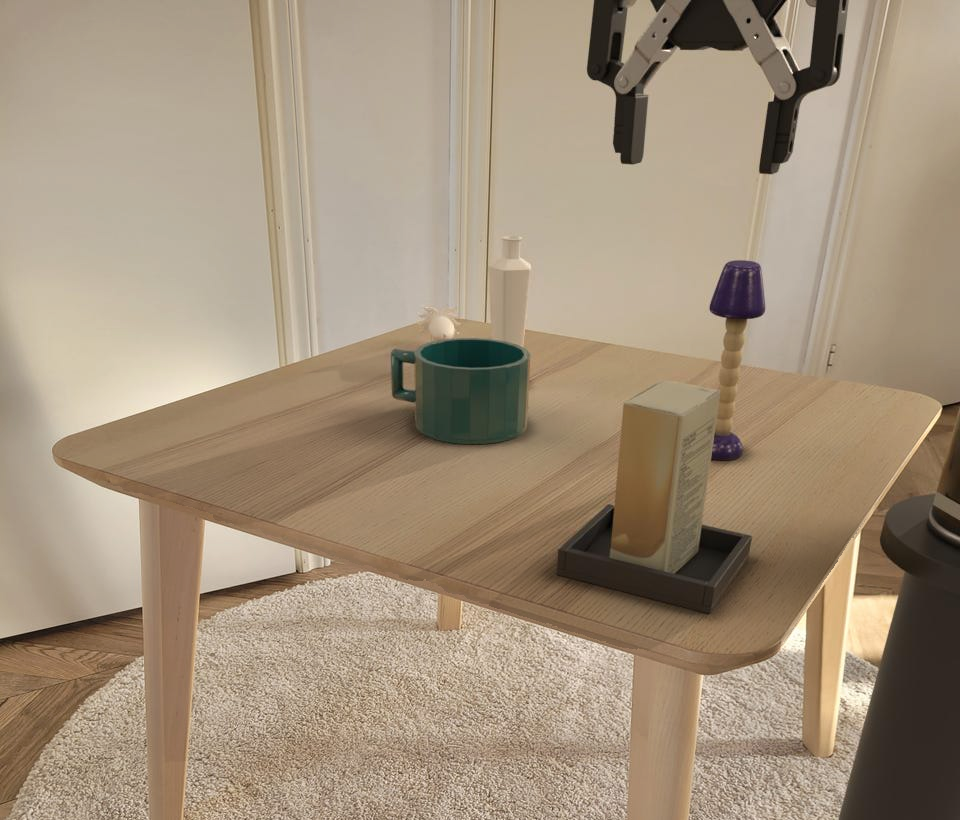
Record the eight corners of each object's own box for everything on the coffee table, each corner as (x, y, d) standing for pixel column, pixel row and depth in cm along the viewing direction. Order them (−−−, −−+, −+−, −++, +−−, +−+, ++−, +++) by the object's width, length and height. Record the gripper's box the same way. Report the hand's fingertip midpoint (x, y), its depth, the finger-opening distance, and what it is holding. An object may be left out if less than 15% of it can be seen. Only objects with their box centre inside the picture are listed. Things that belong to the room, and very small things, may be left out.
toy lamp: (738, 465, 89) (769, 270, 81) (686, 458, 91) (711, 265, 82) (745, 447, 93) (775, 259, 84) (695, 441, 94) (720, 255, 86)
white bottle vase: (537, 385, 108) (544, 239, 101) (504, 392, 106) (509, 242, 99) (512, 375, 112) (518, 232, 104) (480, 381, 110) (483, 235, 102)
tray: (748, 560, 73) (752, 535, 72) (710, 614, 66) (714, 587, 65) (605, 527, 77) (607, 503, 76) (556, 574, 70) (557, 549, 69)
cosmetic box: (646, 538, 75) (665, 376, 68) (700, 553, 73) (724, 388, 66) (604, 569, 70) (620, 399, 64) (660, 587, 68) (682, 413, 62)
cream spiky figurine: (416, 341, 123) (416, 301, 121) (459, 341, 124) (460, 301, 121) (421, 369, 113) (421, 326, 111) (468, 368, 114) (469, 326, 111)
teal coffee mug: (544, 418, 99) (548, 348, 96) (494, 452, 91) (496, 376, 87) (420, 395, 105) (420, 327, 101) (363, 424, 97) (359, 352, 93)
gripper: (581, -178, 52) (564, 167, 60) (866, -201, 46) (804, 183, 54) (632, -157, 57) (611, 155, 66) (892, -175, 52) (832, 169, 60)
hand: (698, 168), depth 60 cm, fingers open, 8 cm apart
